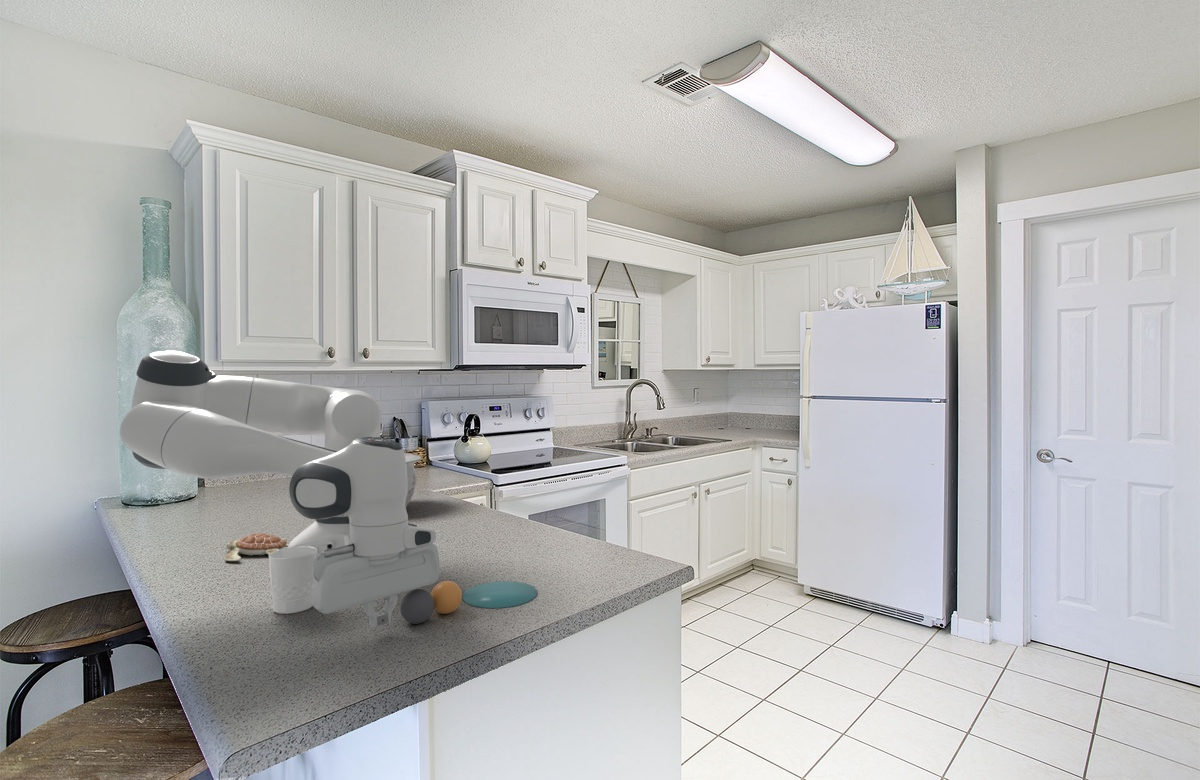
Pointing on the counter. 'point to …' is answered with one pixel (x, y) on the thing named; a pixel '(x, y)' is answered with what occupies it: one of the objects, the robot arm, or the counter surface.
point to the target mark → (499, 594)
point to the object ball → (446, 597)
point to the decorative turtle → (254, 546)
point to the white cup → (292, 578)
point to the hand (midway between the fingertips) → (380, 624)
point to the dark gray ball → (417, 606)
